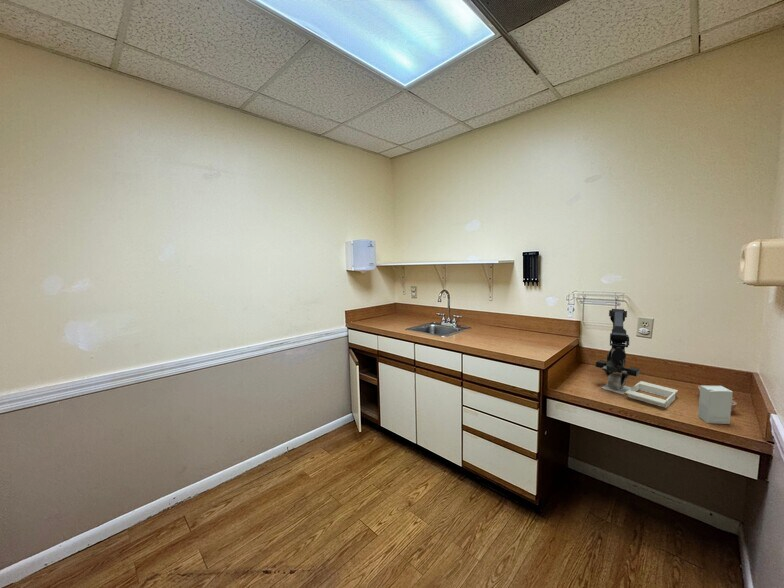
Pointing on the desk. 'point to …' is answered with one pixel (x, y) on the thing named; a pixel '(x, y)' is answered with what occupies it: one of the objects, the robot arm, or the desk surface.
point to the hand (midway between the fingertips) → (616, 383)
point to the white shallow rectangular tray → (654, 390)
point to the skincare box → (715, 404)
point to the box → (615, 380)
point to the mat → (620, 391)
